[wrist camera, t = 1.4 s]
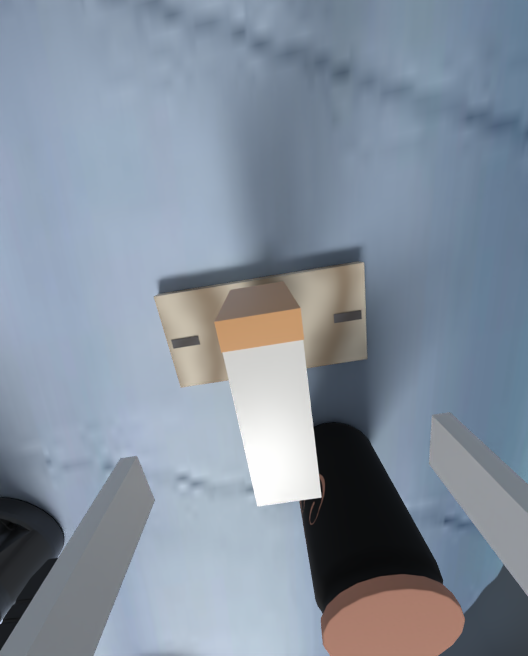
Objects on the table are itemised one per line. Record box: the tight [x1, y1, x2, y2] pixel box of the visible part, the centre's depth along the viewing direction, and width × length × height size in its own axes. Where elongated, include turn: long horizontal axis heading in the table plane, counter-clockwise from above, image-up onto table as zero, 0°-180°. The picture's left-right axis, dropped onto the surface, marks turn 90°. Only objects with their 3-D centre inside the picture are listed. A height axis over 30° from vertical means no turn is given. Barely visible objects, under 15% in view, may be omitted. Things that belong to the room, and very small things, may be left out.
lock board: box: [154, 261, 367, 387], centre depth 28 cm, size 22×11×6 cm, turn 99°
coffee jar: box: [300, 422, 465, 656], centre depth 28 cm, size 11×11×18 cm
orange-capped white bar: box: [214, 281, 321, 506], centre depth 20 cm, size 4×12×11 cm, turn 9°
